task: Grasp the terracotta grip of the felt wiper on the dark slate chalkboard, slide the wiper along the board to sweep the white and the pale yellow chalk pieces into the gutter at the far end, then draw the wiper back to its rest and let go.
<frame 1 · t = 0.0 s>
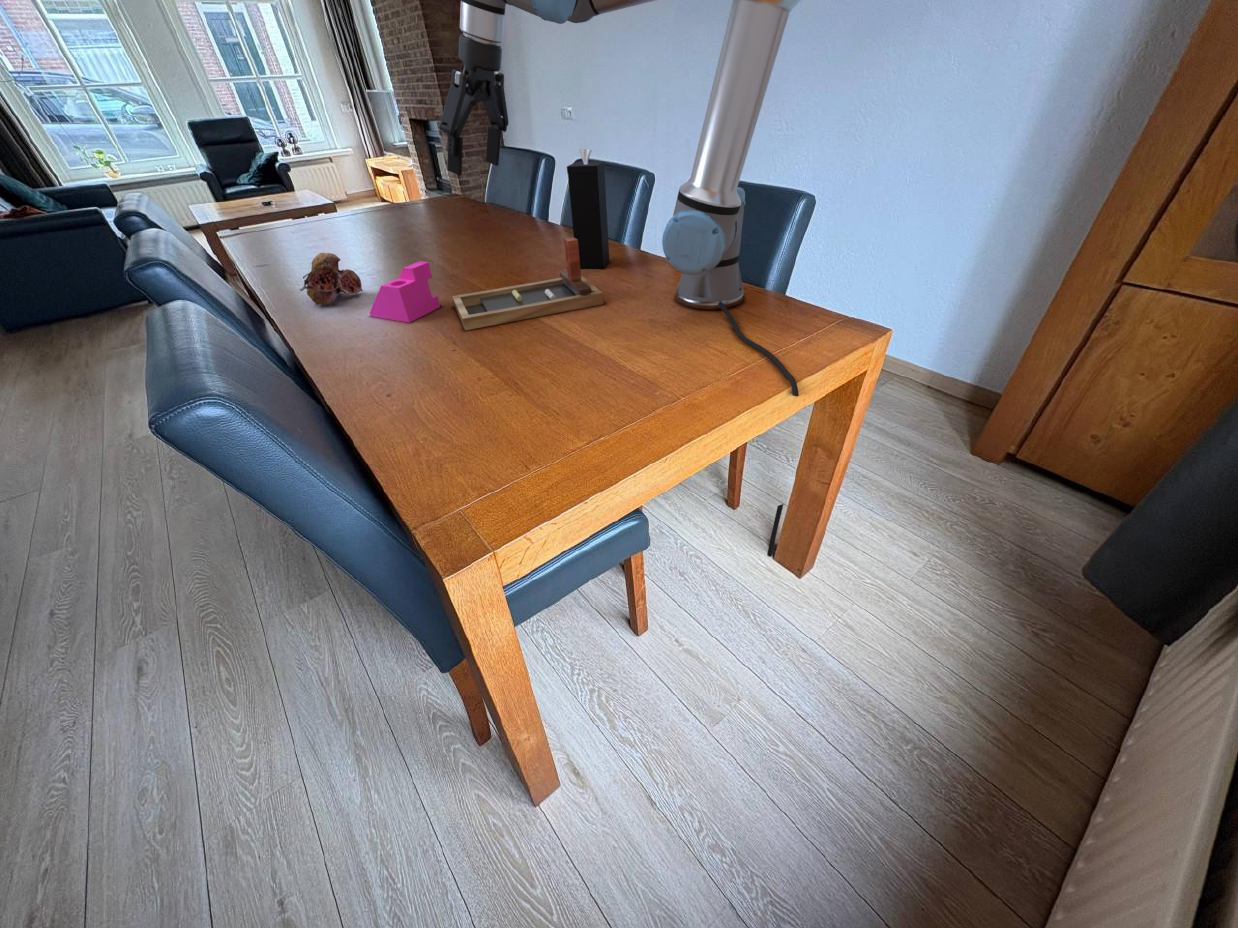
hand: (474, 168, 103), 28 cm above the table, tool tilted 20°, fingers open, 13 cm apart
white chalk: (550, 295, 115), point 2 cm above the table, tilted 12°, touching slate
wiper: (573, 264, 115), point 8 cm above the table, slide at 0.0 cm
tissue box: (593, 265, 140), on the table
yellow chalk: (517, 295, 115), point 2 cm above the table, touching slate
slate: (528, 305, 116), on the table
seed pod: (336, 301, 125), on the table
bracket: (406, 312, 117), on the table
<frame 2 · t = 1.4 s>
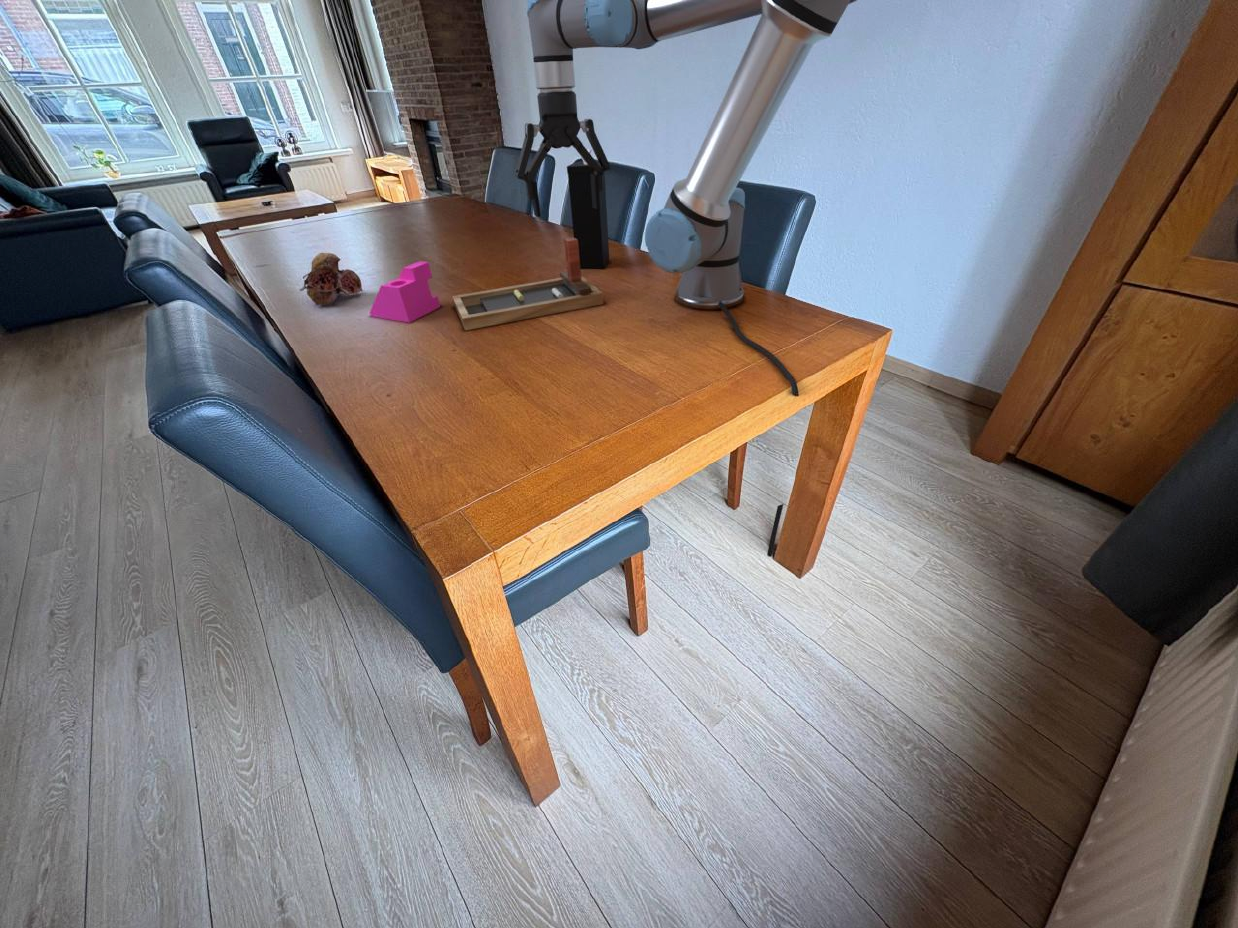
hand: (567, 212, 108), 19 cm above the table, tool pointing down, fingers open, 13 cm apart
white chalk: (557, 293, 115), point 2 cm above the table, tilted 164°, touching slate
yellow chalk: (518, 295, 115), point 2 cm above the table, tilted 41°, touching slate
everything else where it was.
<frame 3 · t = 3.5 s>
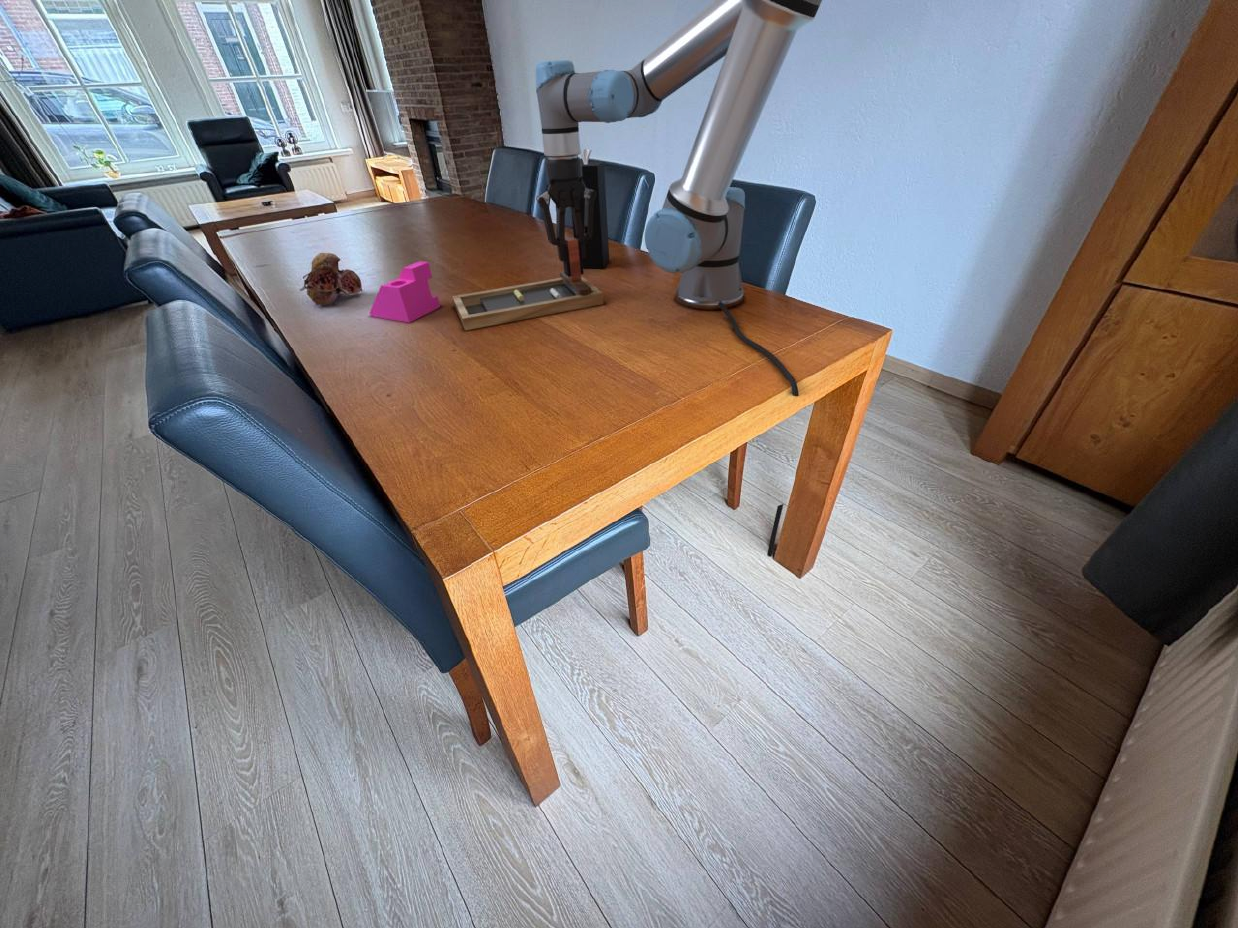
hand: (574, 273, 116), 6 cm above the table, tool pointing down, fingers closed on wiper, 2 cm apart
white chalk: (555, 294, 115), point 2 cm above the table, tilted 127°, touching slate
wiper: (573, 264, 115), point 8 cm above the table, slide at 0.0 cm, touching gripper
everything else where it was.
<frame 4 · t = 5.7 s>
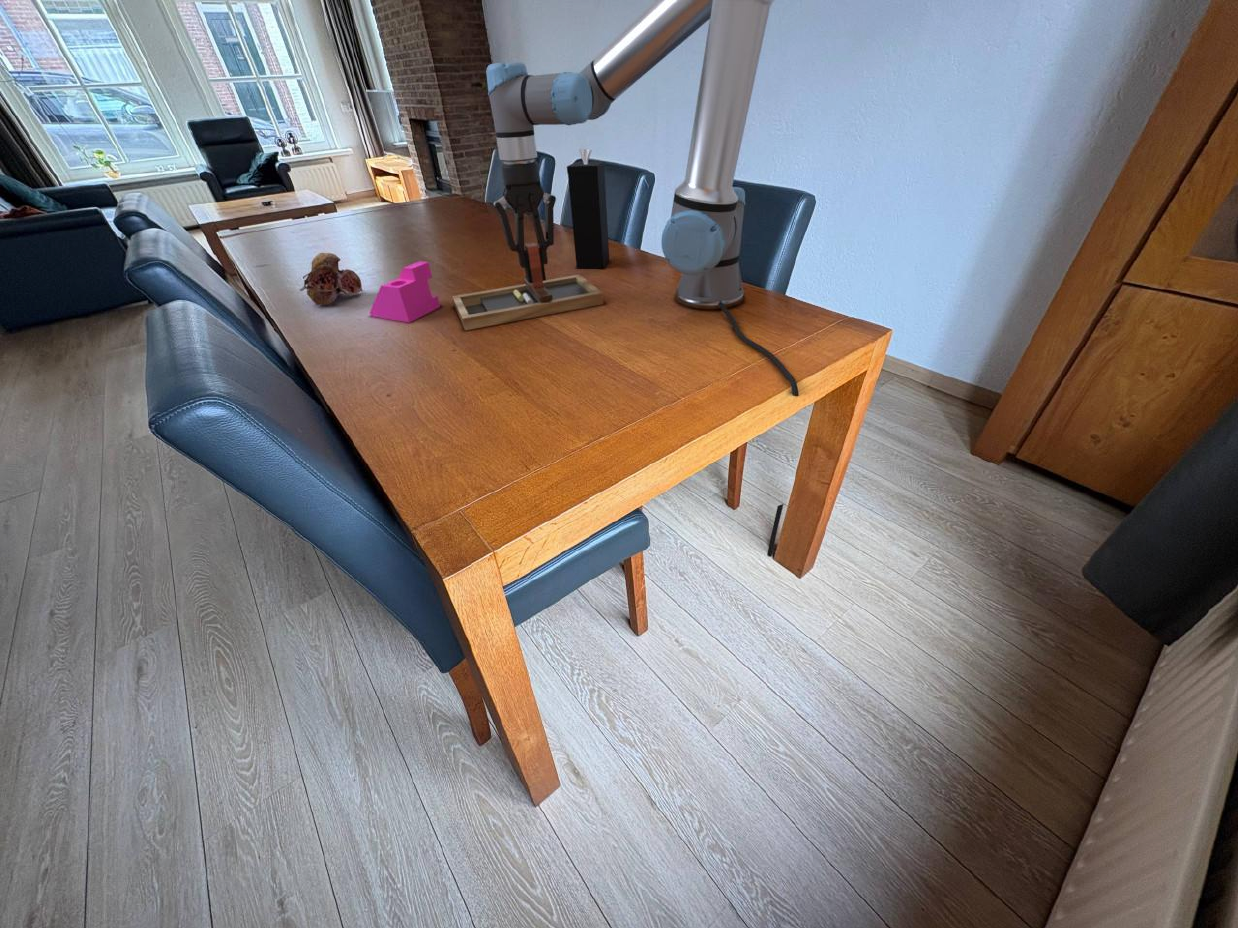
hand: (536, 280, 113), 6 cm above the table, tool pointing down, fingers closed on wiper, 2 cm apart
white chalk: (527, 299, 113), point 2 cm above the table, tilted 94°, touching slate
wiper: (534, 271, 112), point 8 cm above the table, slide at 9.3 cm, touching gripper
yellow chalk: (518, 295, 115), point 2 cm above the table, tilted 32°, touching slate
everything else where it was.
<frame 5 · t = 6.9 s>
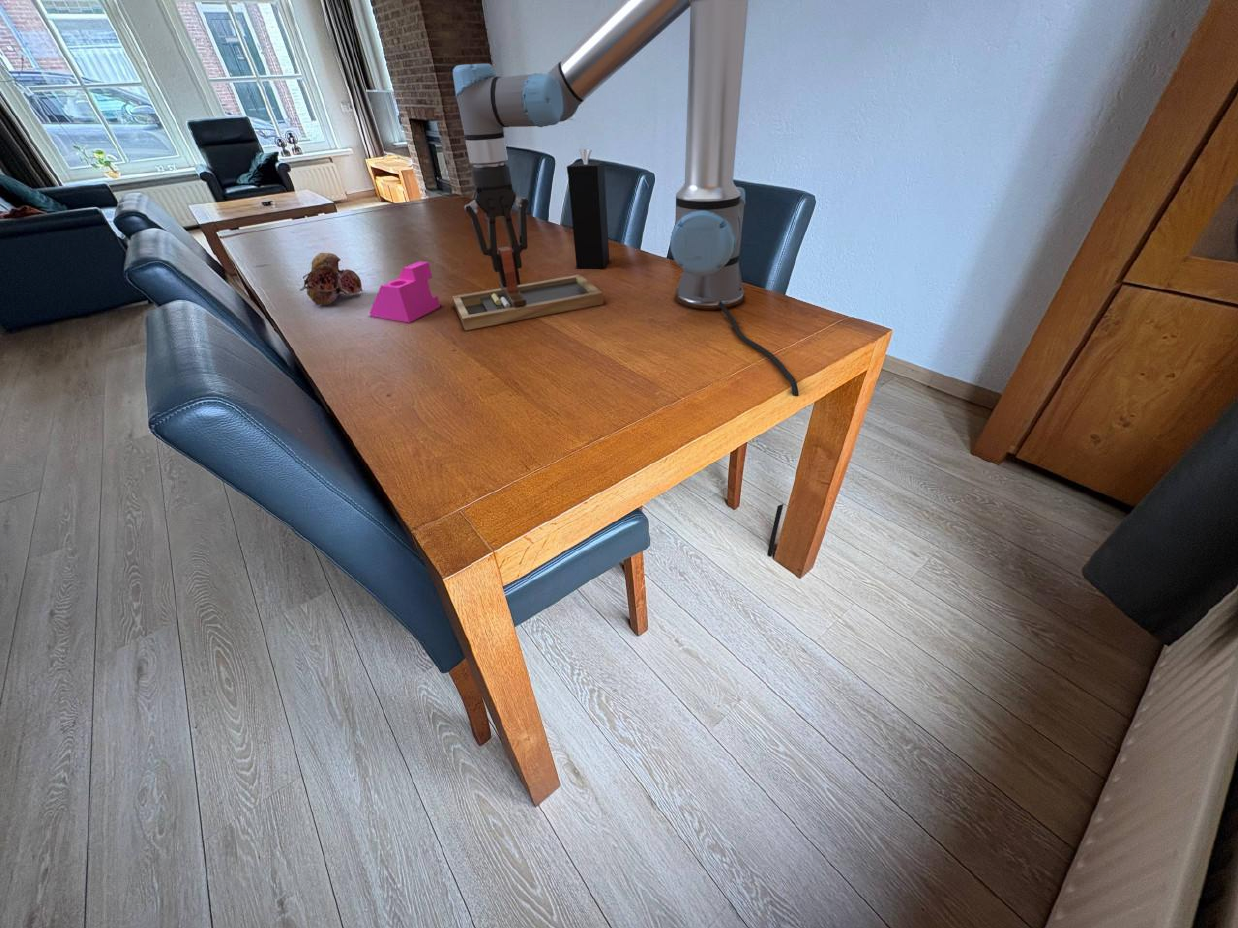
hand: (510, 284, 112), 6 cm above the table, tool pointing down, fingers closed on wiper, 2 cm apart
white chalk: (505, 303, 112), point 2 cm above the table, tilted 157°, touching slate
wiper: (509, 275, 110), point 8 cm above the table, slide at 15.3 cm, touching gripper
yellow chalk: (496, 299, 114), point 2 cm above the table, tilted 70°, touching slate
everything else where it was.
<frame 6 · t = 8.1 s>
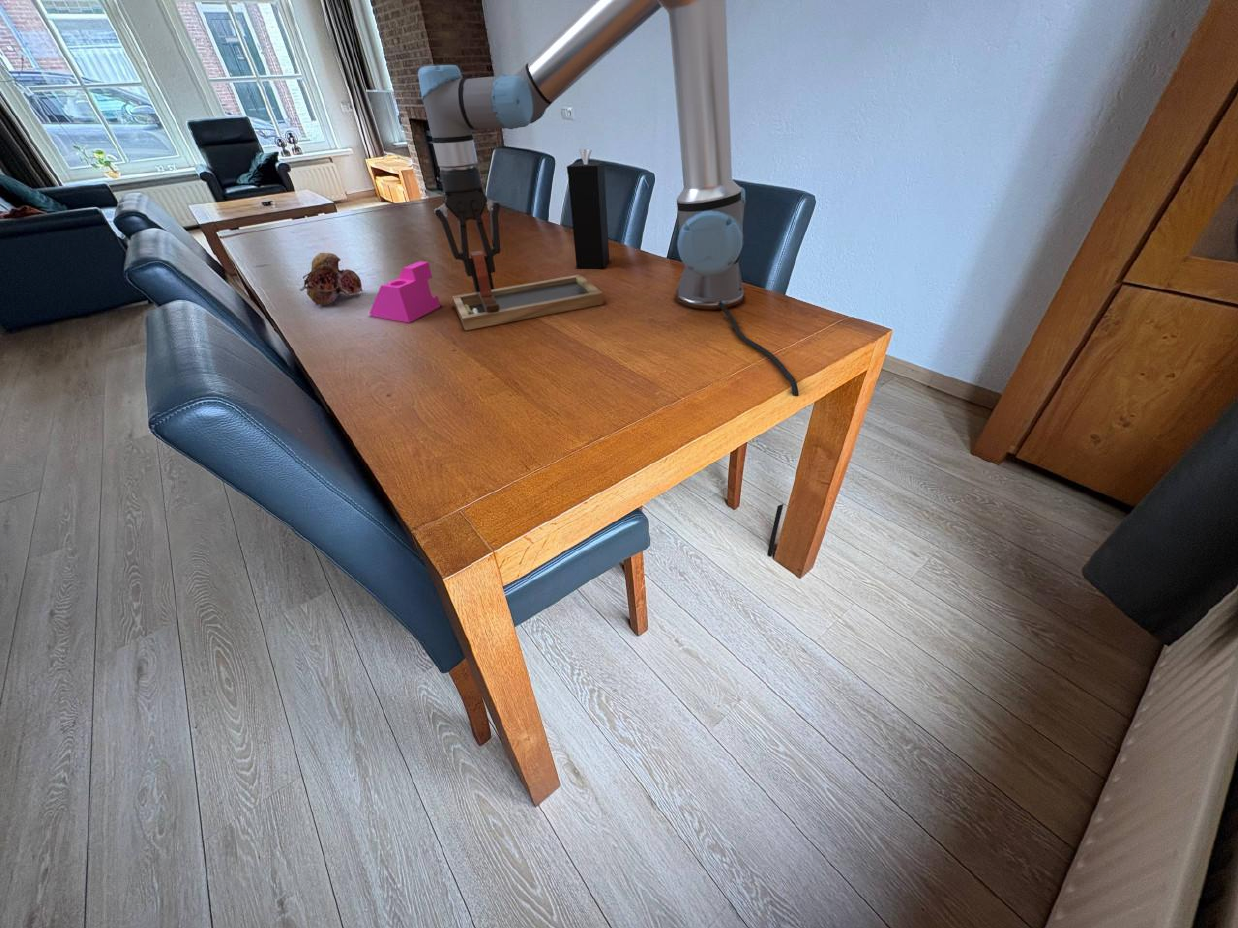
hand: (484, 288, 110), 6 cm above the table, tool pointing down, fingers closed on wiper, 2 cm apart
white chalk: (476, 314, 110), point 1 cm above the table, tilted 57°, touching slate
wiper: (482, 279, 109), point 8 cm above the table, slide at 21.3 cm, touching gripper
yellow chalk: (467, 310, 113), point 1 cm above the table, tilted 6°, touching slate
everything else where it was.
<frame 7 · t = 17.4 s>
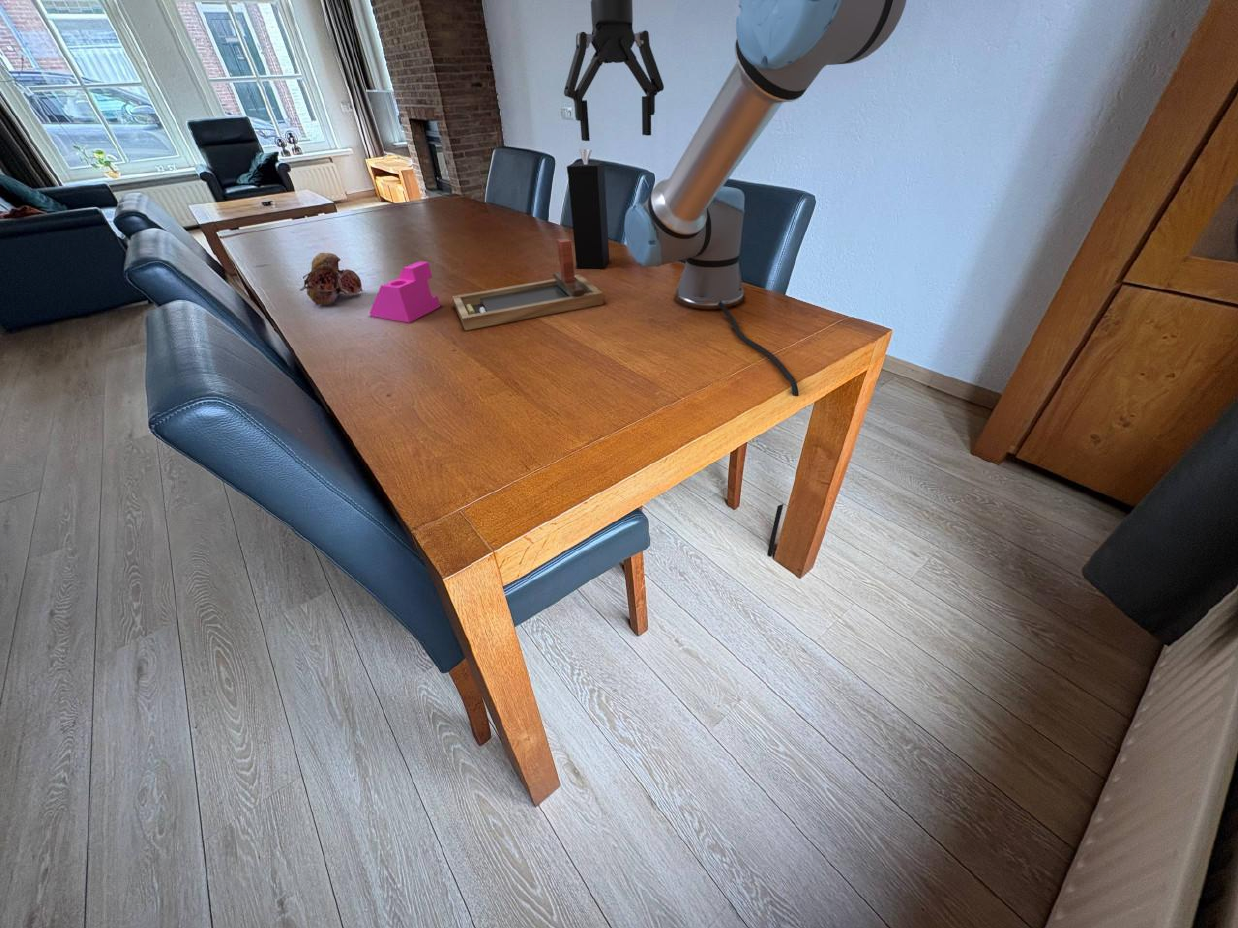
hand: (616, 138, 101), 32 cm above the table, tool pointing down, fingers open, 13 cm apart
white chalk: (483, 313, 111), point 1 cm above the table, tilted 85°, touching slate
wiper: (566, 265, 114), point 8 cm above the table, slide at 1.6 cm
yellow chalk: (470, 310, 113), point 1 cm above the table, tilted 60°, touching slate
everything else where it was.
at the end: white chalk inside the target area on the slate (2.9 cm from its centre), point 0.9 cm above the slate's base; yellow chalk inside the target area on the slate (1.6 cm from its centre), point 0.9 cm above the slate's base; wiper slide at 1.6 cm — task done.
